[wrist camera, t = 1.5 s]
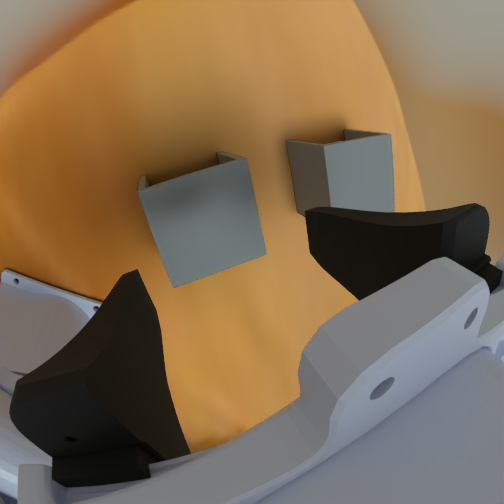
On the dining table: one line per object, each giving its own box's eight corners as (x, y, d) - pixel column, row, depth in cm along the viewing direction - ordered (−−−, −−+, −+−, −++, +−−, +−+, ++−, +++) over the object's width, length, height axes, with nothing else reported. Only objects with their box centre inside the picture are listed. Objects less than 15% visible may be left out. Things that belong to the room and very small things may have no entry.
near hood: (240, 227, 22) (266, 254, 17) (166, 253, 20) (173, 288, 16) (222, 151, 19) (246, 158, 15) (139, 177, 18) (137, 192, 13)
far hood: (354, 194, 24) (394, 210, 20) (297, 212, 23) (333, 234, 18) (347, 129, 21) (390, 134, 17) (285, 140, 20) (323, 146, 16)
